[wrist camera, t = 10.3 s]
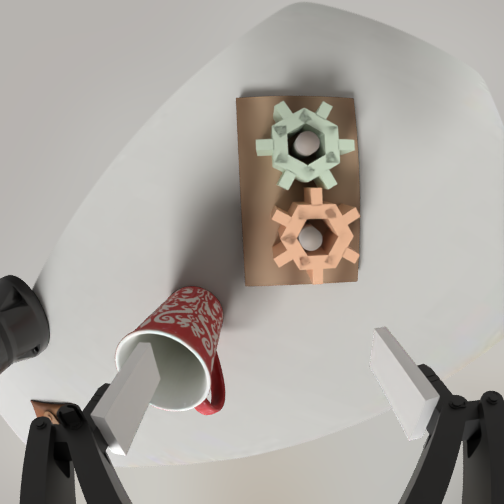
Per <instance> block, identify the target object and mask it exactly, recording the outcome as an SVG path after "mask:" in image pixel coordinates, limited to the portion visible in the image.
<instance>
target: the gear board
mask: <svg viewBox="0 0 504 504" xmlns="http://www.w3.org/2000/svg"><path fill="white" fill-rule="evenodd" d="M282 101H284V102H285V103H286V105H287V106H288V108H289V109H290V110H291V112H292V113H295V112H297V111H299V110H301V109H303V108H306V109H308V110H310V111H312V112H313V113H315V112H316V111H317V109H318V108H319V106H320V105H321V104H322V102H323V101H324V102H325V103H327V104H329V105H331V106H333V107H332V109H331V111H330V113H329V115H328V117H327V118H326V120H328V121H330V122H331V123H333V124H335V125H337V126H338V136H339V139H349V140H354V144H355V150H354V151H352V152H349V153H346V154H343V155H340V163H339V164H338V165H336V166H334V167H333V168H331V169H329V170H330V172H331V174H332V175H333V177H334V179H335V180H336V182H337V185H335V186H333V187H332V188H330V189H322V201H326V202H330V203H333V204H336V206H339V205H340V204H345V205H349V206H353V207H356V209H357V211H358V213H359V215H360V189H359V160H358V143H357V129H356V118H355V108H354V99H353V98H341V97H321V96H263V97H244V98H236V110H237V132H238V154H239V175H240V195H241V215H242V234H243V253H244V271H245V286H272V285H298V284H312V282H311V280H310V278H309V275H308V273H307V271H306V270H299V268H298V266H297V265H296V263H295V262H294V260H293V259H292V260H291V261H289V262H288V263H286V264H284V265H283V266H281V267H278V265H277V264H276V262H275V261H274V259H273V251H272V247H273V246H275V245H277V244H278V243H280V242H281V240H280V237H279V233H278V229H279V227H280V225H281V224H280V223H278V222H276V221H274V220H272V218H271V212H272V210H273V208H274V206H277V207H279V208H281V209H282V210H284V211H286V212H288V210H289V208H290V206H291V204H292V202H304V187H317V185H316V184H315V182H314V181H313V180H311V181H309V182H300V181H298V180H296V179H294V180H293V182H292V184H291V186H290V188H289V190H286V189H283V188H281V187H280V186H278V185H276V184H277V182H278V181H279V179H280V177H281V175H282V173H283V172H281V171H279V170H277V169H275V168H273V167H272V156H257V152H256V140H258V139H271V129H272V125H274V124H276V122H275V121H274V119H273V113H274V106H275V105H277V104H279V103H280V102H282ZM287 141H288V155H290V156H292V157H293V158H295V159H297V160H299V161H301V162H303V163H304V164H306V165H307V164H309V163H311V162H313V161H314V160H316V151H317V149H318V148H319V145H320V141H319V138H318V136H317V135H316V134H315V133H313V132H310V131H305V132H302V133H301V134H300V133H298V134H296V135H294V136H292V137H291V138H289V139H287ZM317 188H318V187H317ZM348 227H349V228H350V230H351V232H352V234H353V238H352V240H351V242H350V244H349V247H351V248H352V249H353V250H355V251H356V252H357V253H358V254H359V233H360V217H359V218H358V219H356V220H354V221H353V222H351V223H350V224H348ZM326 230H327V227H326V226H325V224H324V222H323V220H322V219H307V220H306V222H305V224H304V226H303V227H302V229H301V231H300V233H299V235H298V237H297V239H298V241H299V242H300V244H301V245H302V247H303V248H304V249H306V250H308V251H314V250H316V249H318V248H319V247H320V246H321V244H322V240H323V239H322V237H323V235H324V234H325V232H326ZM358 262H359V257H358V259H357V261H356V263H355V264H354V263H352V262H351V261H349V260H347V259H345V258H343V257H342V258H341V260H340V262H339V263H338V265H337V267H336V268H329V269H323V283H339V282H356V281H357V280H358Z"/></svg>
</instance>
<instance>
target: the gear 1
mask: <svg viewBox="0 0 504 504" xmlns="http://www.w3.org/2000/svg"><path fill="white" fill-rule="evenodd" d="M332 107H333V106H331V105H329V104H327V103H325V102H324V101H323V102H322V104H321V105H320V106H319V108H318V109H317V111H316V112H315V113H313V112H312V111H310V110H308V109H306V108H303V109H301V110H299V111H297V112H295V113H292V112H291V110H290V109H289V108H288V106H287V105H286V103H285V102H284V101H282V102H280V103H279V104H277V105H275V106H274V113H273V119H274V121H275V122H276V124H274V125H272V129H271V139H258V140H256V152H257V156H272V167H273V168H275V169H277V170H279V171H281V172H283V173H282V175H281V177H280V179H279V181H278V182H277V184H276V185H278V186H280V187H281V188H283V189H286V190H289V188H290V186H291V184H292V182H293V180H294V179H296V180H298V181H300V182H309V181H311V180H313V181H314V182H315V184H316V185H317V187H318V188H322V189H330V188H332V187H333V186H335V185H337V182H336V180H335V179H334V177H333V175H332V174H331V172H330V170H329V169H331V168H333V167H334V166H336V165H338V164H339V163H340V155H343V154H346V153H349V152H352V151H354V150H355V144H354V140H349V139H339V136H338V126H337V125H335V124H333V123H331V122H330V121H328V120H326V118H327V117H328V115H329V113H330V111H331V109H332ZM305 131H310V132H313V133H315V134H316V135H317V136H318V138H319V141H320V145H319V148H318V149H317V151H316V160H314V161H313V162H311V163H309V164H307V165H306V164H304V163H303V162H301V161H299V160H297V159H295V158H293V157H292V156H290V155H288V141H287V139H289V138H291V137H292V136H294V135H296V134H298V133H300V134H301V133H302V132H305Z"/></svg>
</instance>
